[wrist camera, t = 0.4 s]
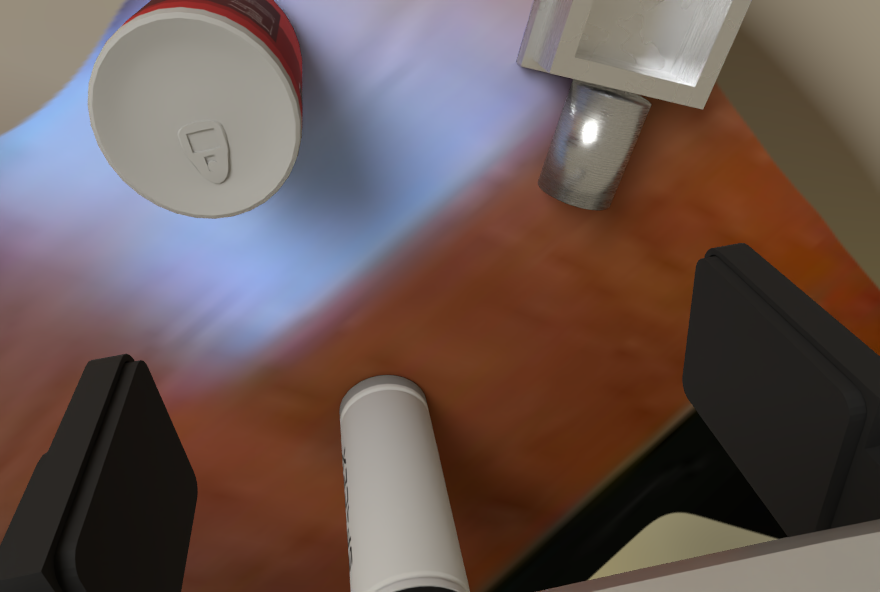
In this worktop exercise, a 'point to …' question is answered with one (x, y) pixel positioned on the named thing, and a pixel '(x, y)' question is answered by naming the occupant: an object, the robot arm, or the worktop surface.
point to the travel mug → (396, 492)
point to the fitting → (620, 78)
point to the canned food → (200, 104)
